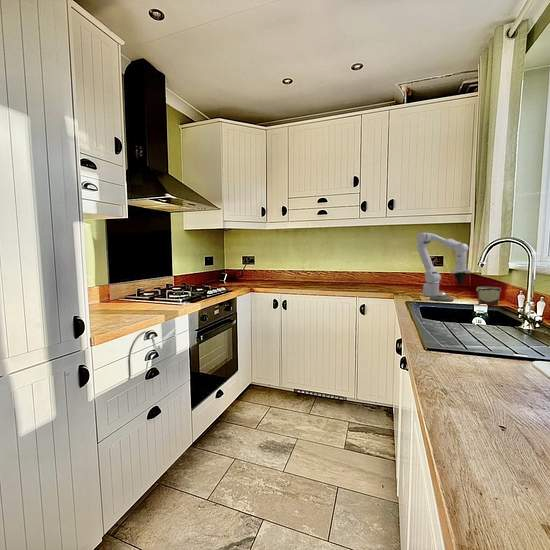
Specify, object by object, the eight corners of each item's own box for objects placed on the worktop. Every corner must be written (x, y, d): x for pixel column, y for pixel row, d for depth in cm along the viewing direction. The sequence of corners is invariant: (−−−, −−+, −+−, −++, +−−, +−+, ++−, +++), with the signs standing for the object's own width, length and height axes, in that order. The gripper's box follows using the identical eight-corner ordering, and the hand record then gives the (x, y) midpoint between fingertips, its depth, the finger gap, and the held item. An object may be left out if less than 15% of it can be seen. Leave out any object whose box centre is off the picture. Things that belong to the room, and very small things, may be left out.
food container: (493, 303, 171) (494, 286, 171) (500, 305, 165) (501, 287, 165) (471, 303, 173) (471, 286, 172) (477, 305, 167) (477, 287, 166)
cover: (434, 296, 189) (434, 291, 189) (441, 296, 191) (441, 290, 191) (441, 297, 184) (441, 292, 184) (448, 297, 186) (448, 291, 186)
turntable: (424, 298, 192) (425, 296, 192) (440, 297, 196) (440, 294, 196) (442, 301, 179) (442, 298, 179) (458, 300, 184) (458, 297, 184)
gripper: (458, 263, 182) (457, 285, 183) (475, 262, 187) (474, 284, 187) (447, 263, 188) (447, 284, 189) (464, 262, 193) (464, 283, 194)
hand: (460, 284), depth 189 cm, fingers closed
